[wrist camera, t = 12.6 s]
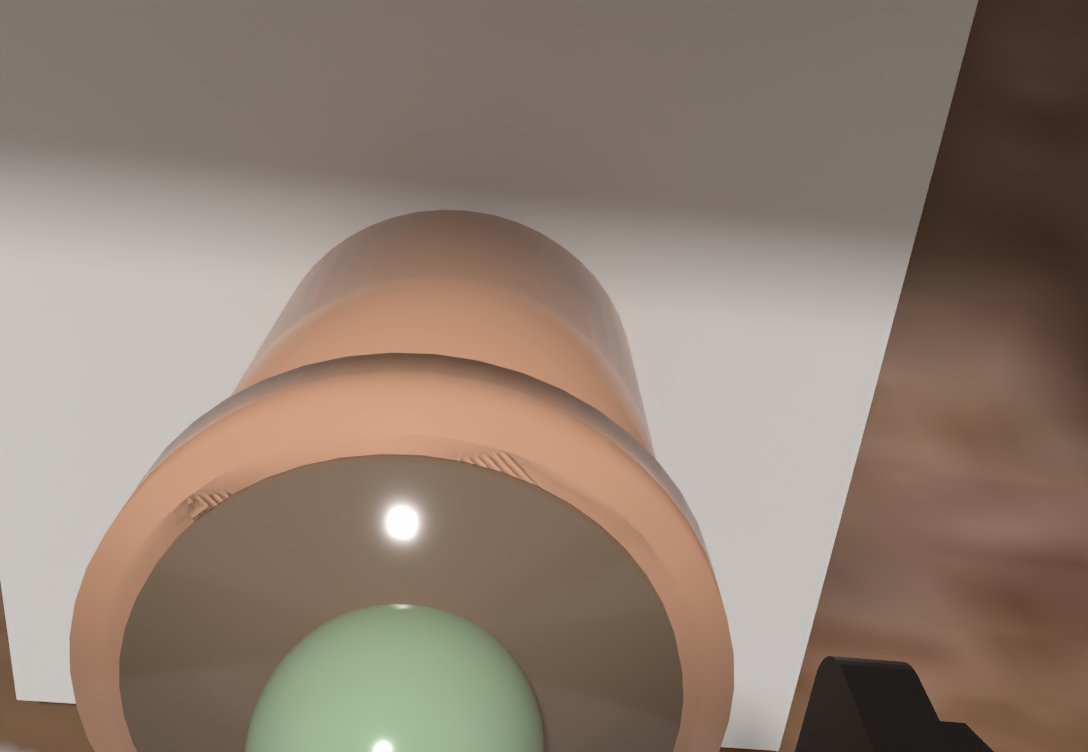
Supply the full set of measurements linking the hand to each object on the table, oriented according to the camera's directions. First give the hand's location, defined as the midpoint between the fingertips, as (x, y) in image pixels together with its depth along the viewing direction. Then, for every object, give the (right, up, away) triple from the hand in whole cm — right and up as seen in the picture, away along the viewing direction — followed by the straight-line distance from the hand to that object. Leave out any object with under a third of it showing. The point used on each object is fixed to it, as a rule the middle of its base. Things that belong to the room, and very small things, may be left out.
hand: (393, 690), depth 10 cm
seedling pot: (0, +3, +6) cm, 7 cm away
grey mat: (0, +3, +7) cm, 7 cm away
